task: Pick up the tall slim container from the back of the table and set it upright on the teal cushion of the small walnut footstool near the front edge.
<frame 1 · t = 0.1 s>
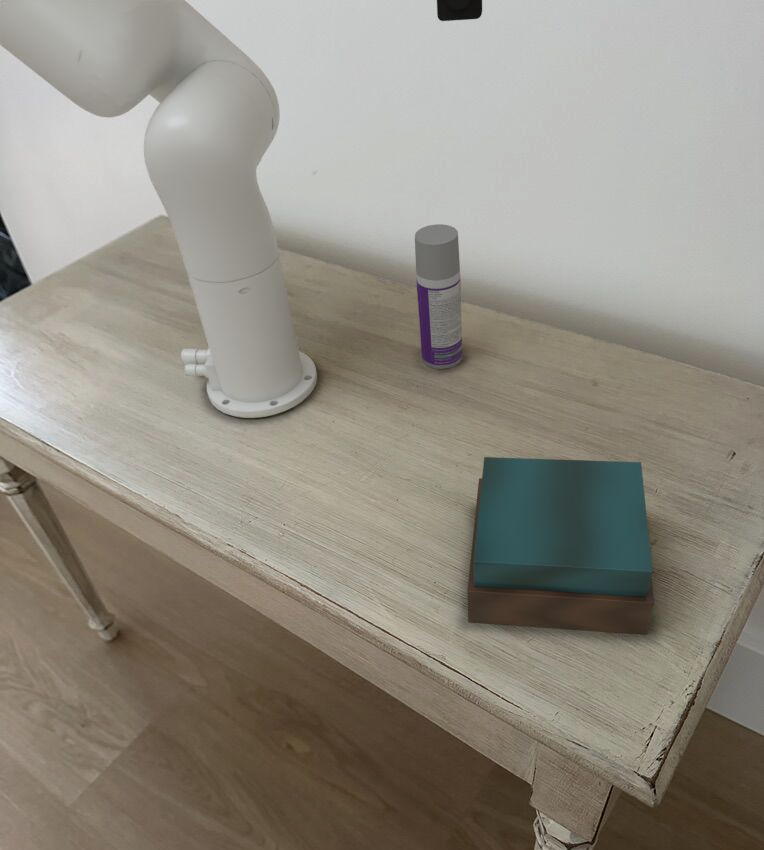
hand: (465, 1, 61), 37 cm above the table, tool pointing down, fingers open, 9 cm apart
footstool: (556, 566, 68), on the table
container: (442, 358, 92), on the table
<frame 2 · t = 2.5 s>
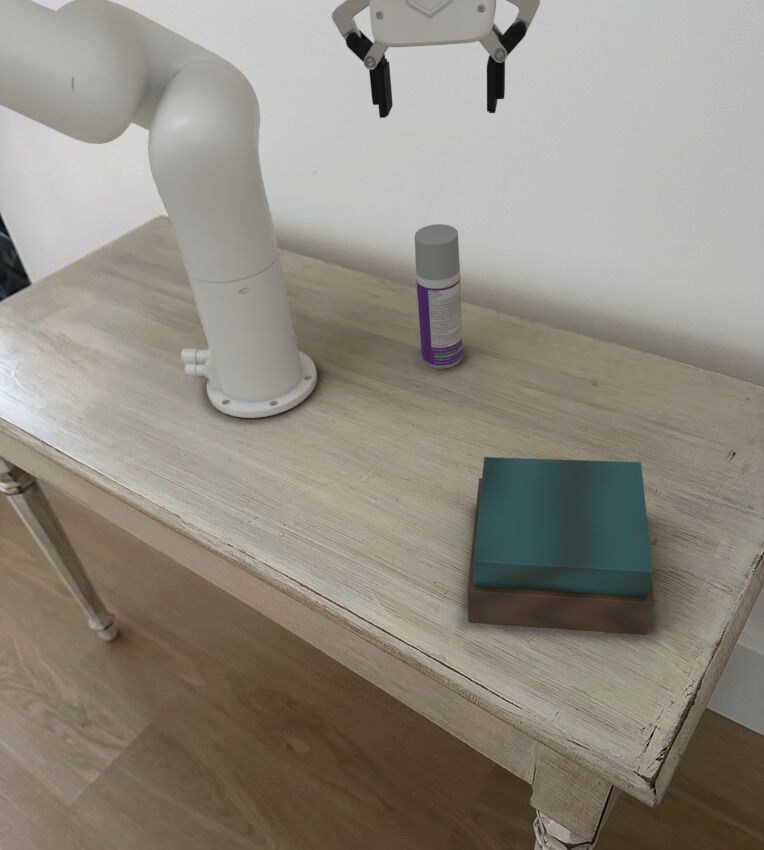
hand: (438, 110, 71), 27 cm above the table, tool pointing down, fingers open, 9 cm apart
nothing on the table moved.
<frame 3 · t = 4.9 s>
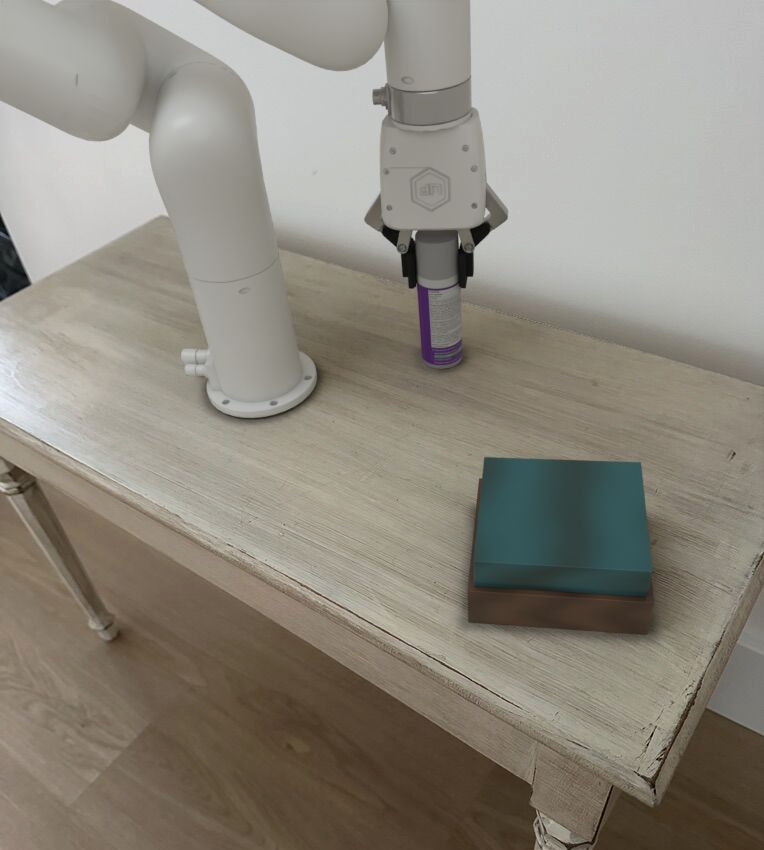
hand: (438, 280, 85), 10 cm above the table, tool pointing down, fingers closed on container, 4 cm apart
container: (442, 358, 92), on the table, touching gripper
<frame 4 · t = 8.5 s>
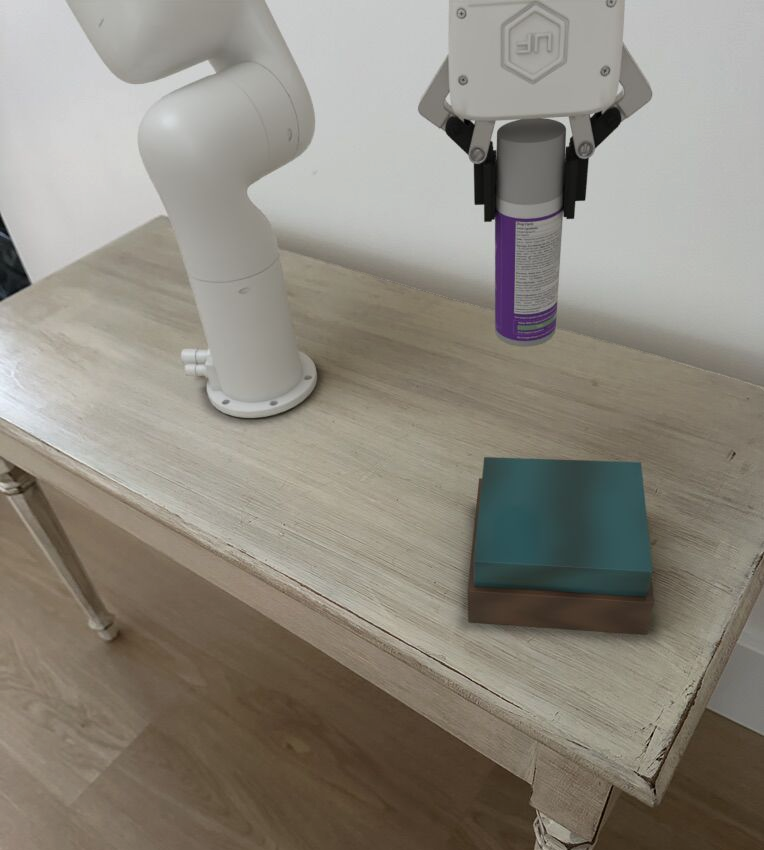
hand: (529, 209, 55), 28 cm above the table, tool pointing down, fingers closed on container, 4 cm apart
container: (525, 332, 62), point 18 cm above the table, touching gripper
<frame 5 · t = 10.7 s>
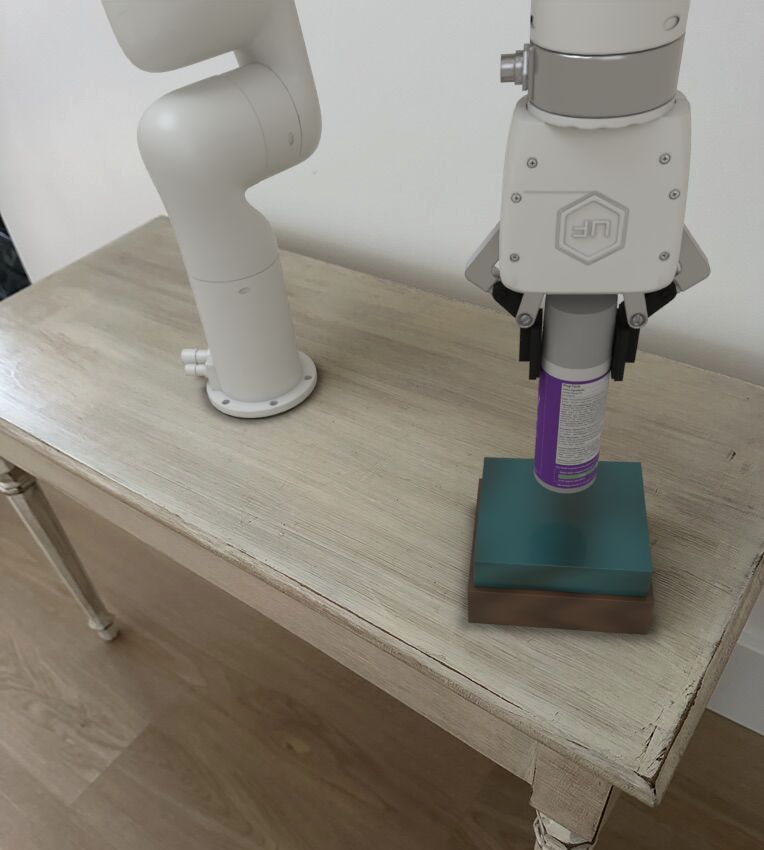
hand: (574, 366, 53), 21 cm above the table, tool pointing down, fingers closed on container, 4 cm apart
container: (564, 474, 60), point 11 cm above the table, touching gripper
when the fingers open (17 cm above the table, at t = 12.1 s): container stays where it is, resting on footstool.
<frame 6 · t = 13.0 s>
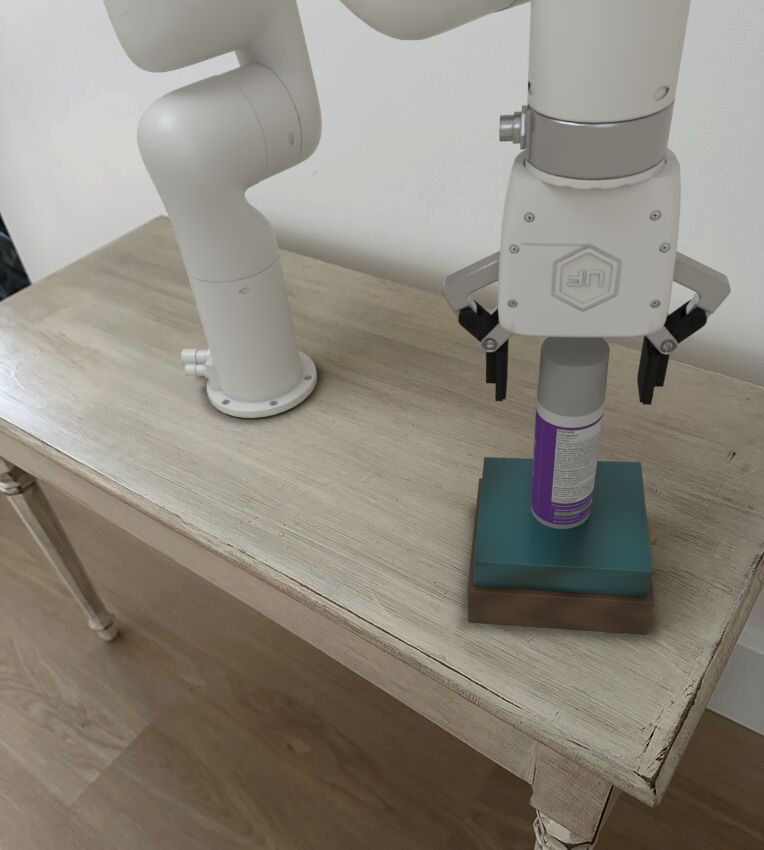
hand: (571, 390, 55), 19 cm above the table, tool pointing down, fingers open, 9 cm apart
container: (560, 509, 63), point 7 cm above the table, touching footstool
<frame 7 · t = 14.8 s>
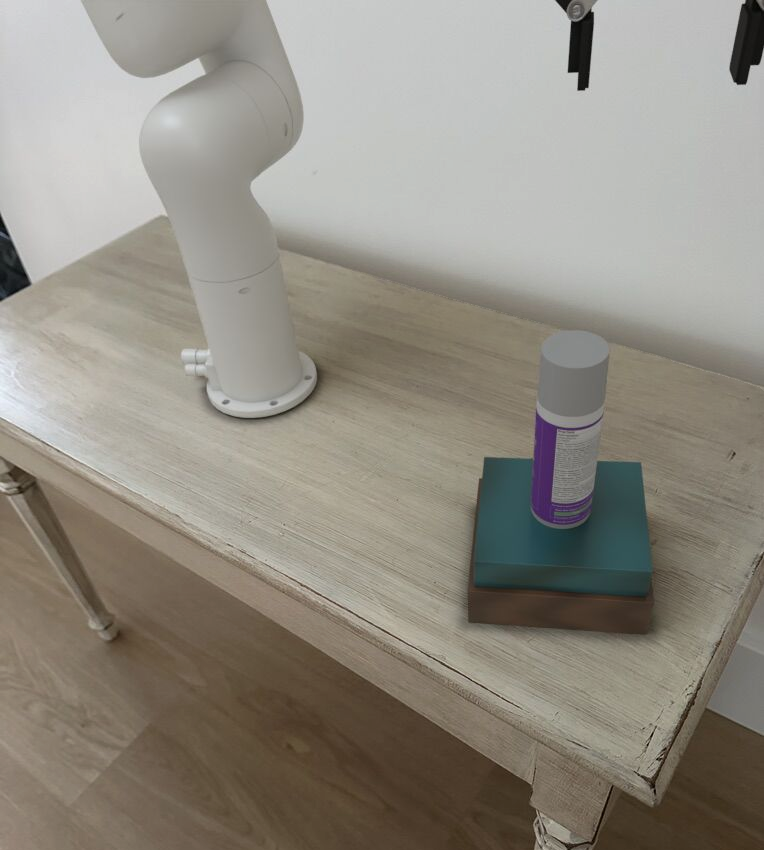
hand: (658, 80, 52), 34 cm above the table, tool pointing down, fingers open, 9 cm apart
nothing on the table moved.
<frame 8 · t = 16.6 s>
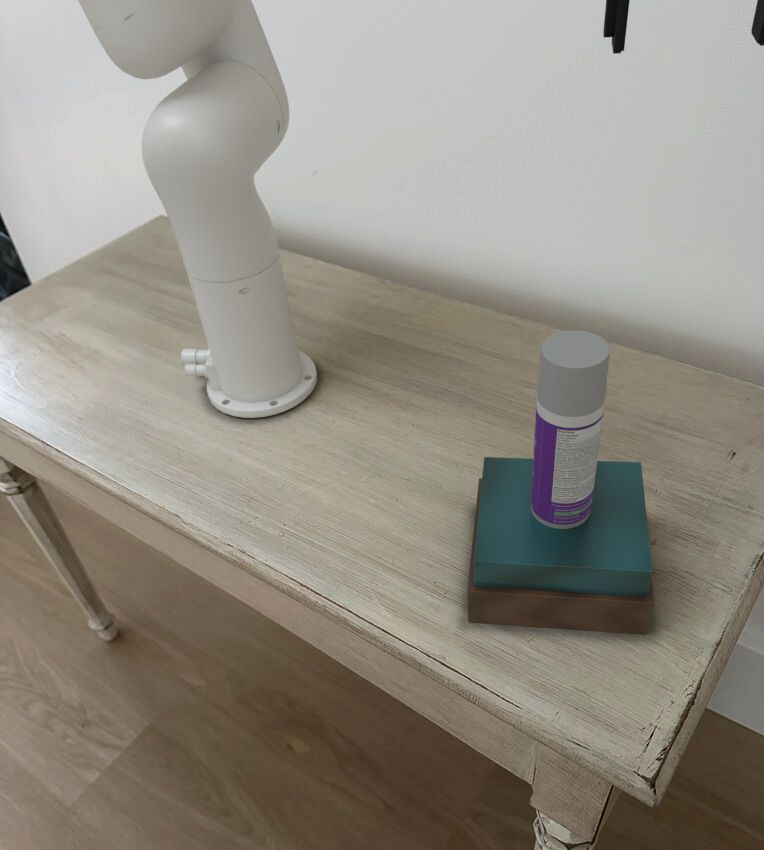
hand: (687, 43, 56), 34 cm above the table, tool pointing down, fingers open, 9 cm apart
nothing on the table moved.
at the end: container inside the target area on the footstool (0.1 cm from its centre), point 6.8 cm above the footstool's base; container tilted 0° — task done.
